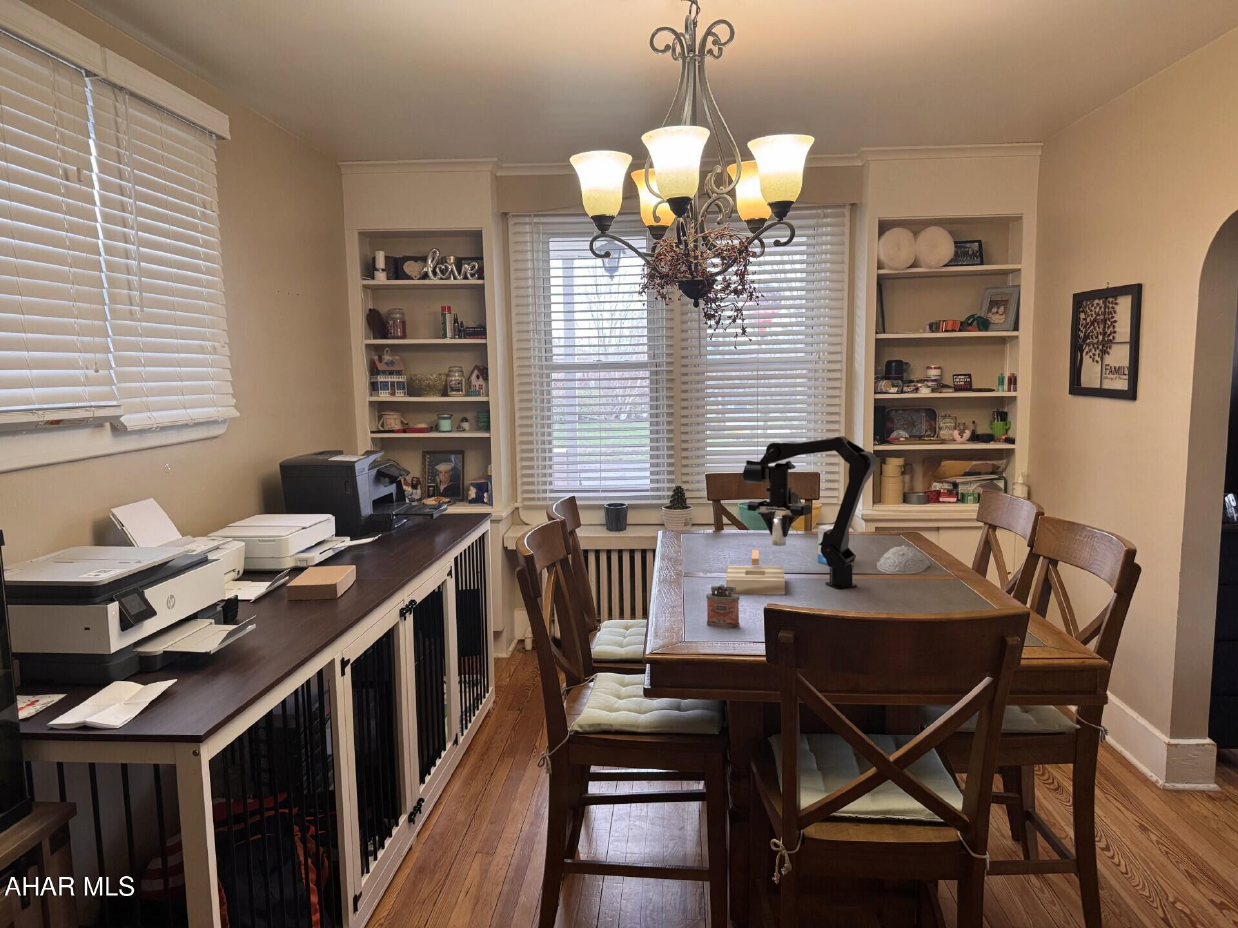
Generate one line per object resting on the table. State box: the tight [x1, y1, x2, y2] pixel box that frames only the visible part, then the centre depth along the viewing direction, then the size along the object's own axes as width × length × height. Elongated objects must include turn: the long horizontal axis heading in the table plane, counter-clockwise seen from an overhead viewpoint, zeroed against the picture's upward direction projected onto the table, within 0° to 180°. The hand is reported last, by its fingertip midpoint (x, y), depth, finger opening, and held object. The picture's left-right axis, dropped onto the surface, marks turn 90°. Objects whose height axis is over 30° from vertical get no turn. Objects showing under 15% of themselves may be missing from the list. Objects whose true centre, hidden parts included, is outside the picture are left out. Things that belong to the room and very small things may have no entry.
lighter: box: [705, 584, 741, 629], centre depth 191 cm, size 8×3×10 cm, turn 69°
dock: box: [725, 565, 786, 595], centre depth 226 cm, size 16×16×4 cm
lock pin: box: [751, 549, 760, 566], centre depth 240 cm, size 12×2×2 cm, turn 170°
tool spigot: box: [771, 516, 787, 547], centre depth 234 cm, size 4×4×8 cm
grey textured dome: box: [876, 545, 931, 575], centre depth 247 cm, size 16×25×7 cm, turn 153°
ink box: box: [817, 524, 834, 566], centre depth 252 cm, size 9×5×12 cm, turn 113°
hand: (779, 536), depth 234 cm, fingers closed on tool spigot, 4 cm apart
